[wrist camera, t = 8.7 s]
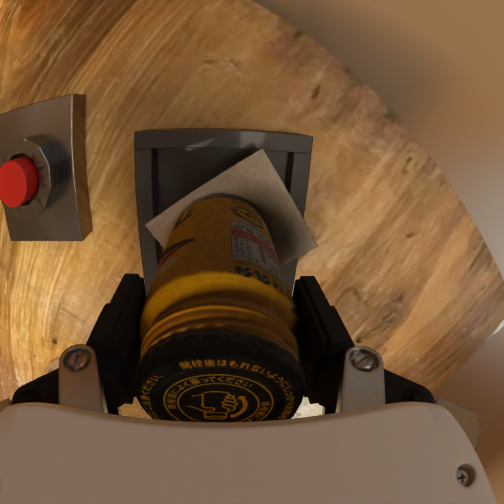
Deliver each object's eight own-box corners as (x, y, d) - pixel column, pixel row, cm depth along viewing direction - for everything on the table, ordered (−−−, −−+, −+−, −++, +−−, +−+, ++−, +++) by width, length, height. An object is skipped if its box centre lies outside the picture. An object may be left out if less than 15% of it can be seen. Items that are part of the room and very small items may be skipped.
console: (10, 113, 16) (-17, 117, 13) (85, 94, 17) (61, 92, 14) (22, 232, 21) (0, 249, 18) (92, 231, 22) (74, 251, 19)
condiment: (145, 224, 17) (64, 377, 6) (262, 148, 16) (345, 226, 5) (211, 303, 20) (209, 464, 10) (316, 244, 19) (404, 390, 8)
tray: (146, 129, 19) (134, 131, 16) (301, 134, 21) (313, 136, 18) (154, 276, 25) (146, 296, 22) (284, 278, 26) (291, 298, 24)
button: (6, 159, 15) (-7, 164, 14) (36, 153, 15) (23, 157, 14) (11, 201, 17) (-1, 209, 15) (41, 199, 17) (29, 206, 16)
